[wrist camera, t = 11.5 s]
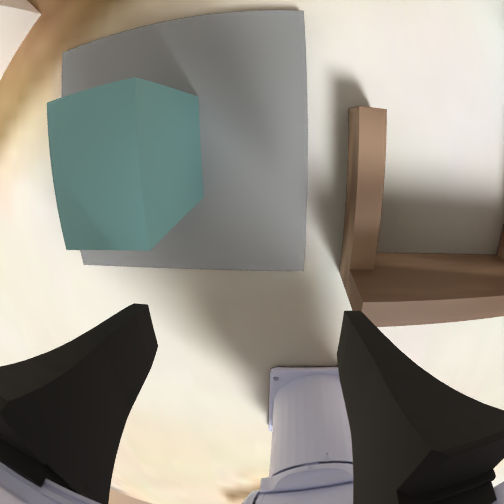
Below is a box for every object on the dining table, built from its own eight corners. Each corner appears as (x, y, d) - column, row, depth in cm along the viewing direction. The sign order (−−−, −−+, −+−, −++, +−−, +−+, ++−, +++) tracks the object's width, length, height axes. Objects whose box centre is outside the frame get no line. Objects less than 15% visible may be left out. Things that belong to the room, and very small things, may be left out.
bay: (503, 271, 18) (543, 309, 13) (339, 272, 20) (358, 327, 14) (525, 145, 14) (578, 159, 9) (348, 108, 15) (381, 100, 10)
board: (302, 265, 20) (303, 271, 19) (89, 260, 21) (83, 264, 20) (302, 15, 13) (303, 10, 13) (69, 54, 15) (62, 52, 14)
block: (203, 197, 18) (150, 250, 10) (142, 200, 18) (66, 249, 11) (198, 96, 15) (135, 77, 8) (135, 105, 16) (47, 102, 8)
